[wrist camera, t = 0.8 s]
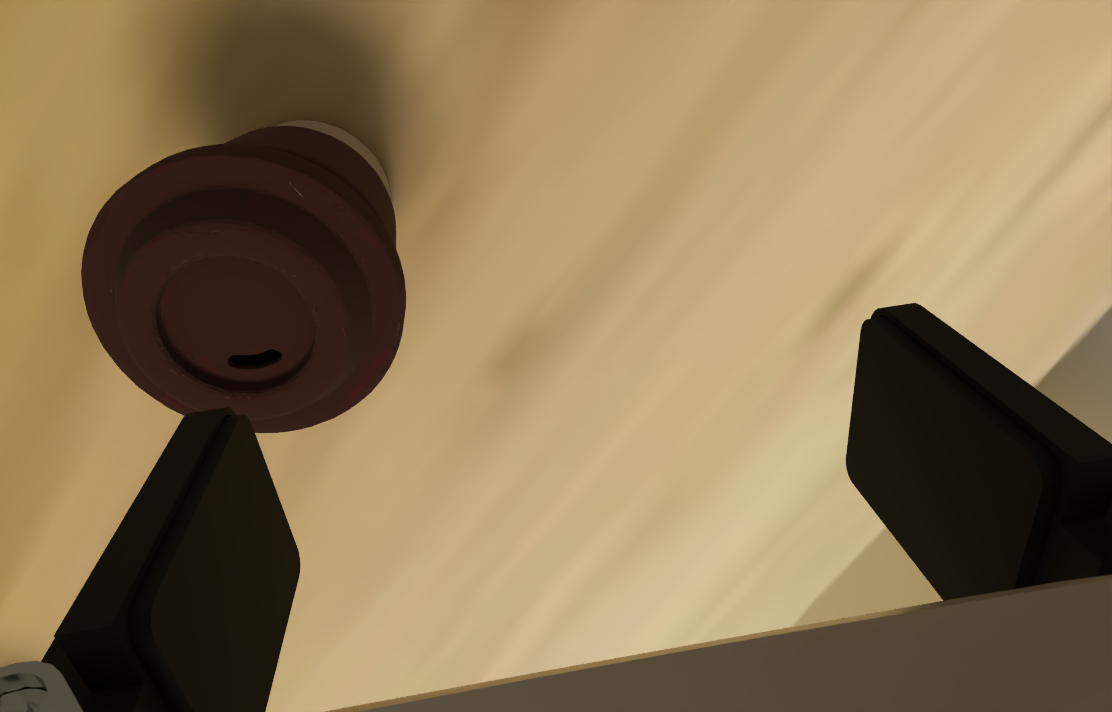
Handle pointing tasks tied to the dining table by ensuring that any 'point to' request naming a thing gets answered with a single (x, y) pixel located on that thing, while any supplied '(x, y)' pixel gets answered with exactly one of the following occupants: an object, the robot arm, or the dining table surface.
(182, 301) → the coffee cup
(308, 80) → the dining table surface
